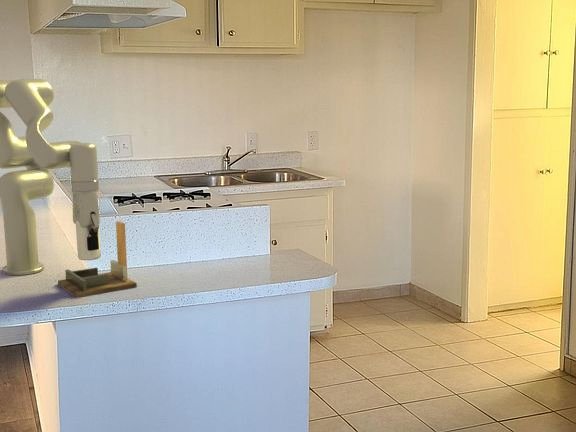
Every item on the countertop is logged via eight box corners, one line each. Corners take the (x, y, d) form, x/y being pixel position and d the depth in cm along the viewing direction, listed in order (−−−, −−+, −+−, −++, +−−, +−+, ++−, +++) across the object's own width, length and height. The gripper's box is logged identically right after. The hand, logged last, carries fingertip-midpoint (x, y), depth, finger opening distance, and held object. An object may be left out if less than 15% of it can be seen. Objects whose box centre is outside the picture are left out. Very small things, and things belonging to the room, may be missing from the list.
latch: (111, 273, 237) (108, 220, 234) (118, 272, 239) (116, 219, 236) (123, 281, 230) (120, 226, 226) (131, 279, 231) (128, 225, 228)
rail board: (58, 284, 232) (58, 280, 232) (115, 275, 242) (115, 271, 242) (76, 297, 219) (76, 293, 219) (136, 287, 229) (136, 283, 229)
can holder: (65, 279, 232) (65, 269, 232) (93, 275, 237) (93, 265, 237) (83, 291, 220) (82, 281, 220) (112, 286, 225) (111, 276, 224)
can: (102, 255, 231) (100, 215, 228) (98, 260, 224) (95, 219, 222) (80, 255, 230) (78, 215, 228) (75, 260, 224) (72, 219, 222)
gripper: (62, 184, 228) (66, 244, 232) (83, 191, 214) (86, 255, 218) (87, 181, 233) (90, 240, 236) (109, 189, 218) (112, 251, 222)
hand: (88, 247), depth 227 cm, fingers closed on can, 6 cm apart
